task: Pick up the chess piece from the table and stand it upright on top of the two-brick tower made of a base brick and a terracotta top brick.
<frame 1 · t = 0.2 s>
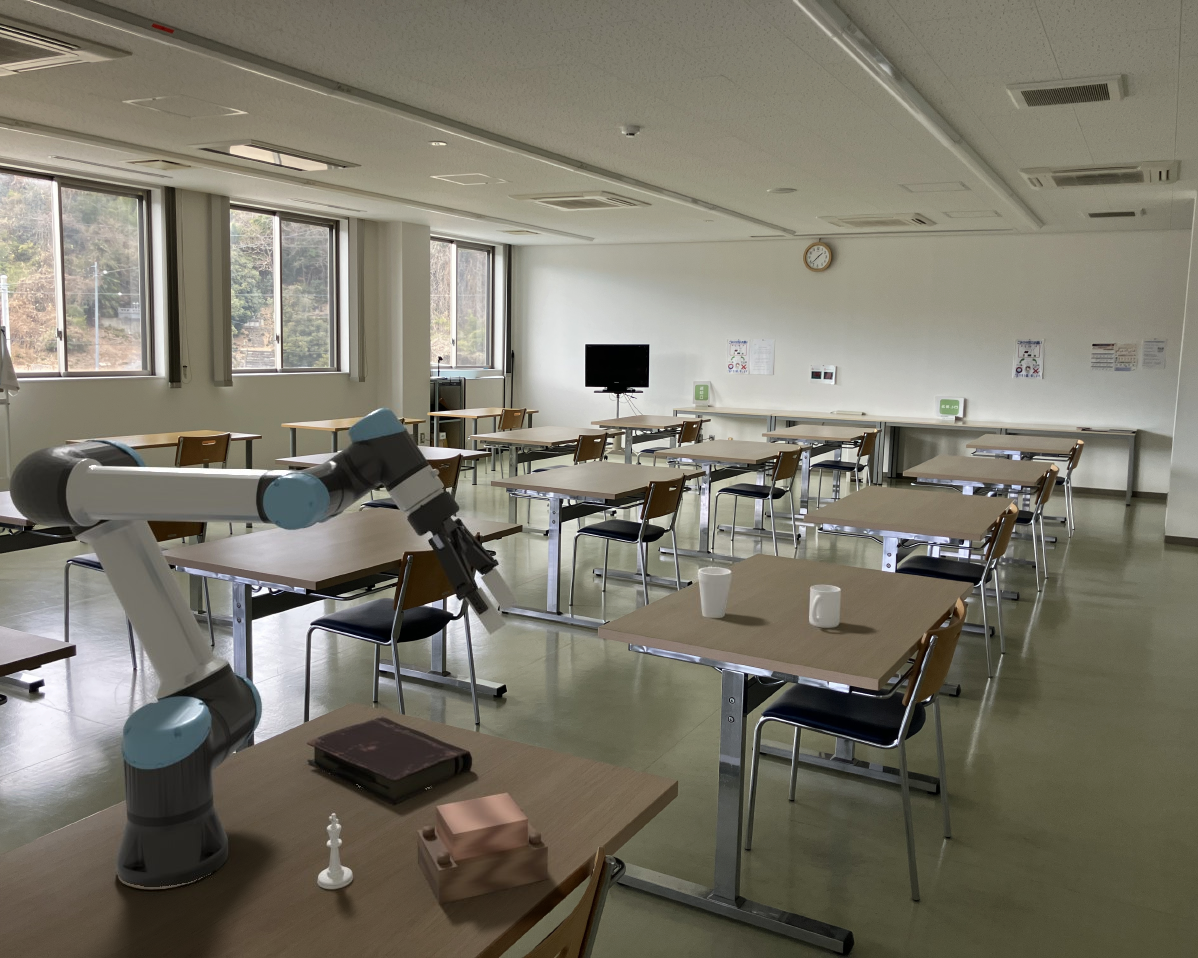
hand: (505, 617, 147), 35 cm above the table, tool tilted 35°, fingers open, 13 cm apart
diary: (387, 770, 175), on the table
mug: (821, 626, 268), on the table
chess piece: (335, 880, 138), on the table
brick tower: (481, 870, 141), on the table
foam cup: (713, 615, 277), on the table
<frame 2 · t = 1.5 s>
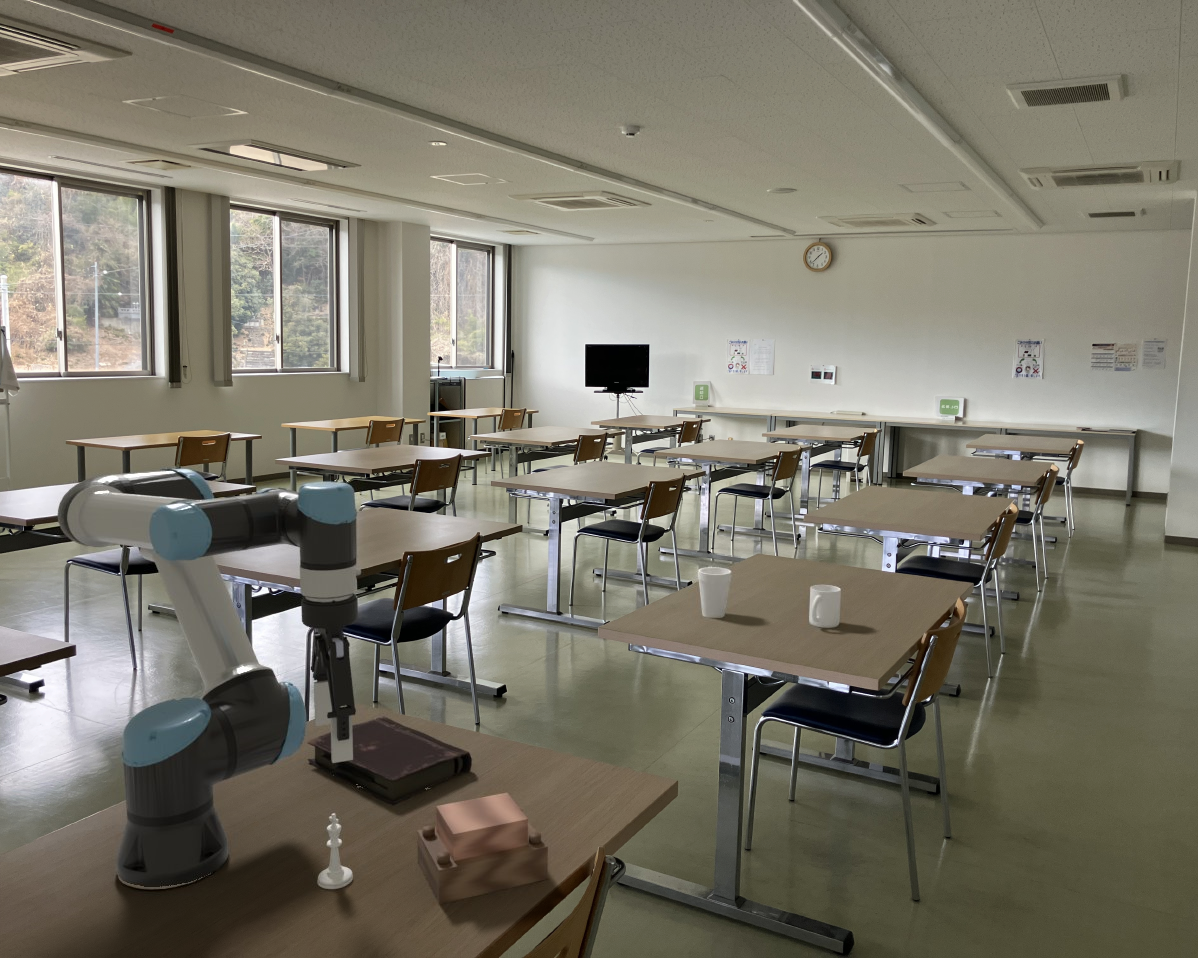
hand: (333, 741, 136), 21 cm above the table, tool pointing down, fingers open, 13 cm apart
nothing on the table moved.
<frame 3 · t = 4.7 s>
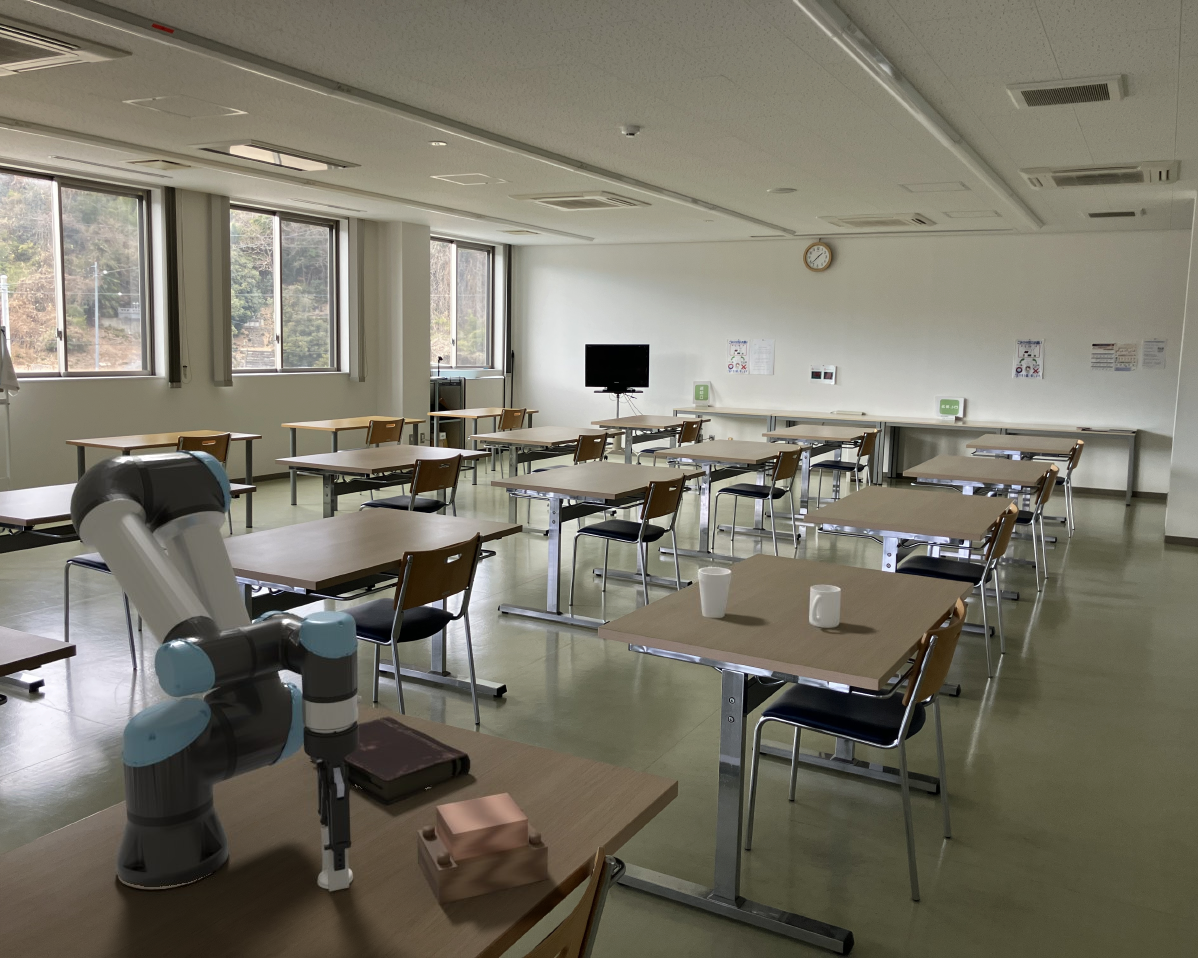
hand: (335, 877, 138), 0 cm above the table, tool pointing down, fingers closed on chess piece, 5 cm apart
chess piece: (335, 880, 138), on the table, touching gripper
everything else where it was.
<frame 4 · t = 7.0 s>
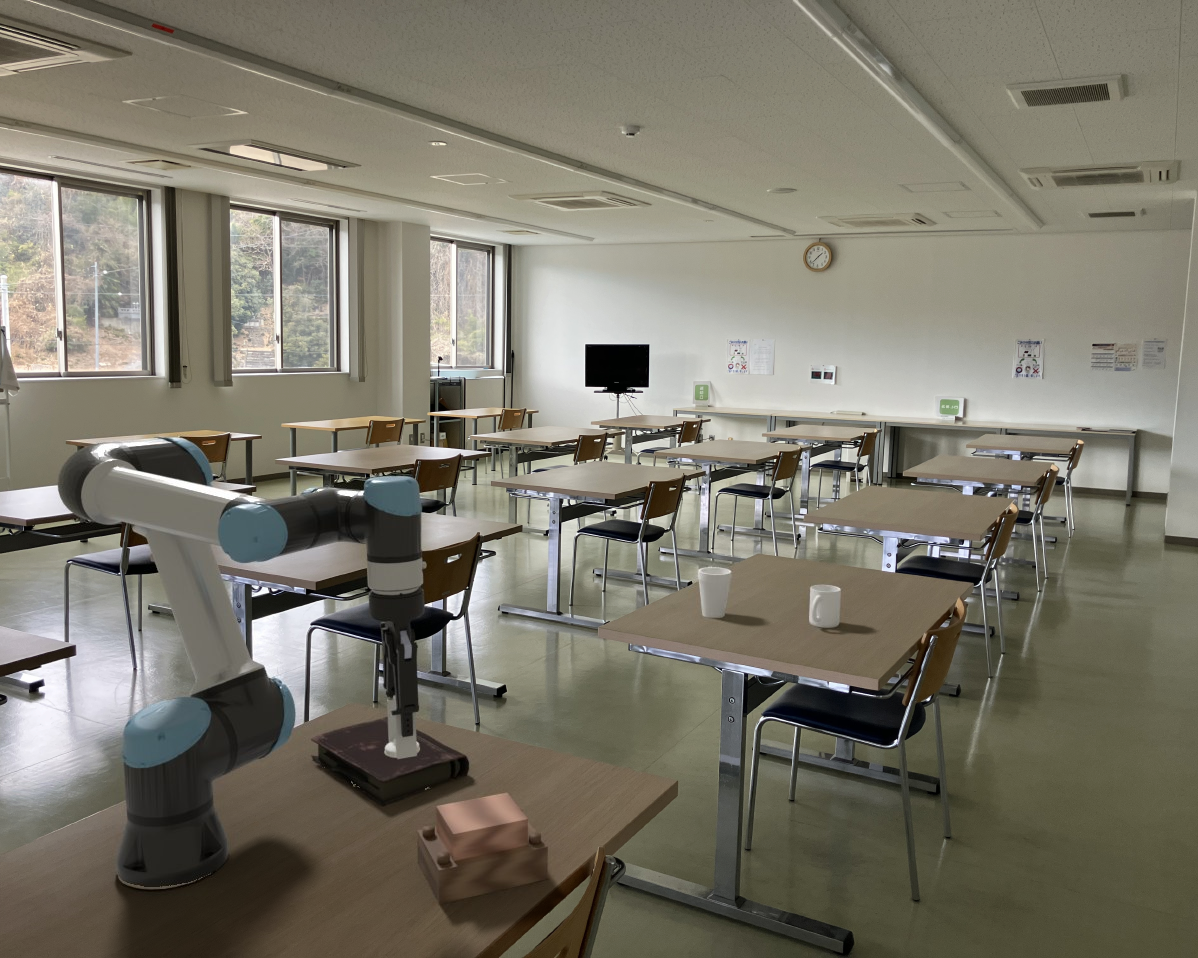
hand: (402, 748, 136), 20 cm above the table, tool pointing down, fingers closed on chess piece, 5 cm apart
chess piece: (402, 752, 136), point 19 cm above the table, touching gripper
everything else where it was.
when the fingers open (11 cm above the table, at t = 9.6 s): chess piece drops 1 cm, resting on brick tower.
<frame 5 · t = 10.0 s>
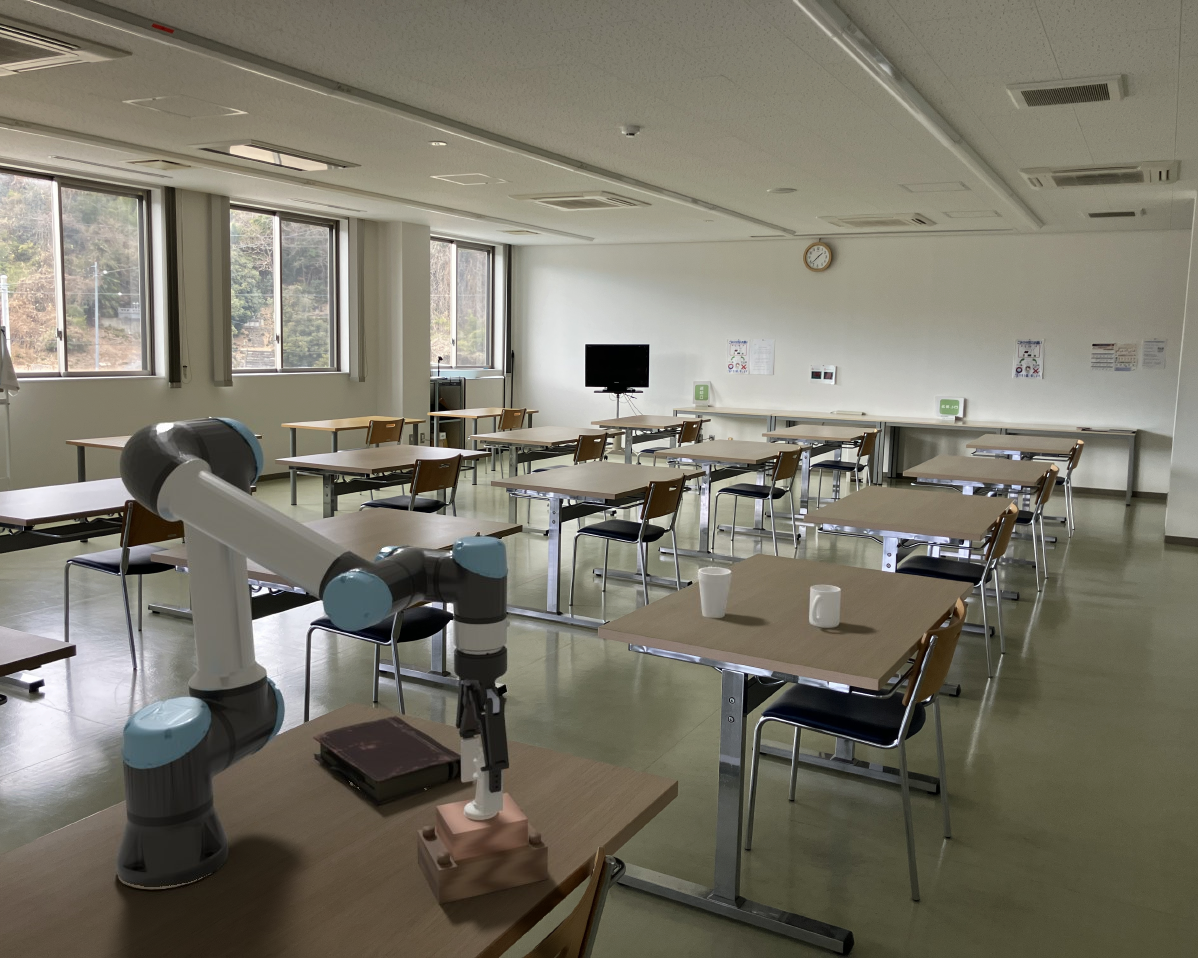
hand: (481, 794, 140), 12 cm above the table, tool pointing down, fingers open, 10 cm apart
chess piece: (480, 813, 140), point 9 cm above the table, touching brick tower
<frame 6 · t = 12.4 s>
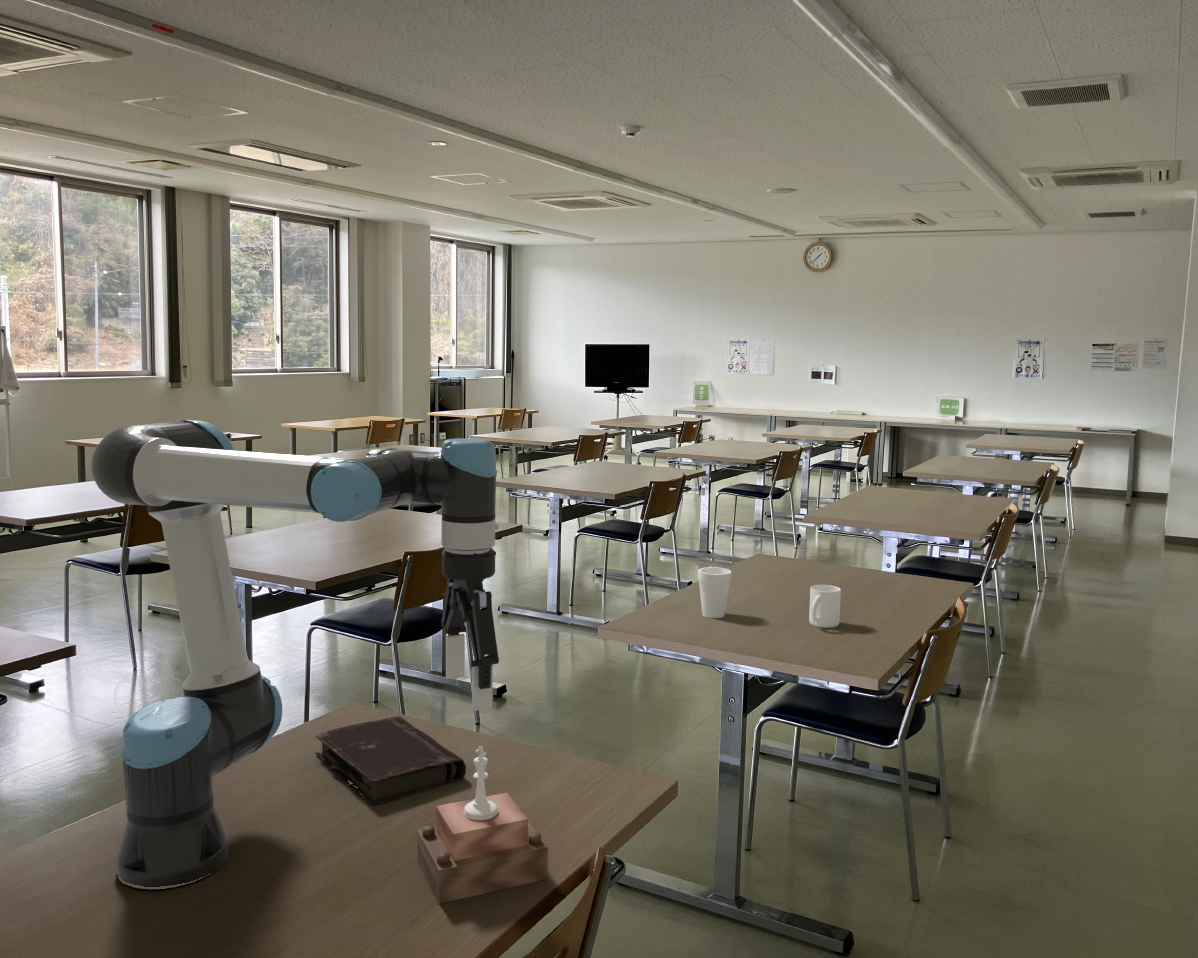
hand: (468, 692, 139), 27 cm above the table, tool pointing down, fingers open, 13 cm apart
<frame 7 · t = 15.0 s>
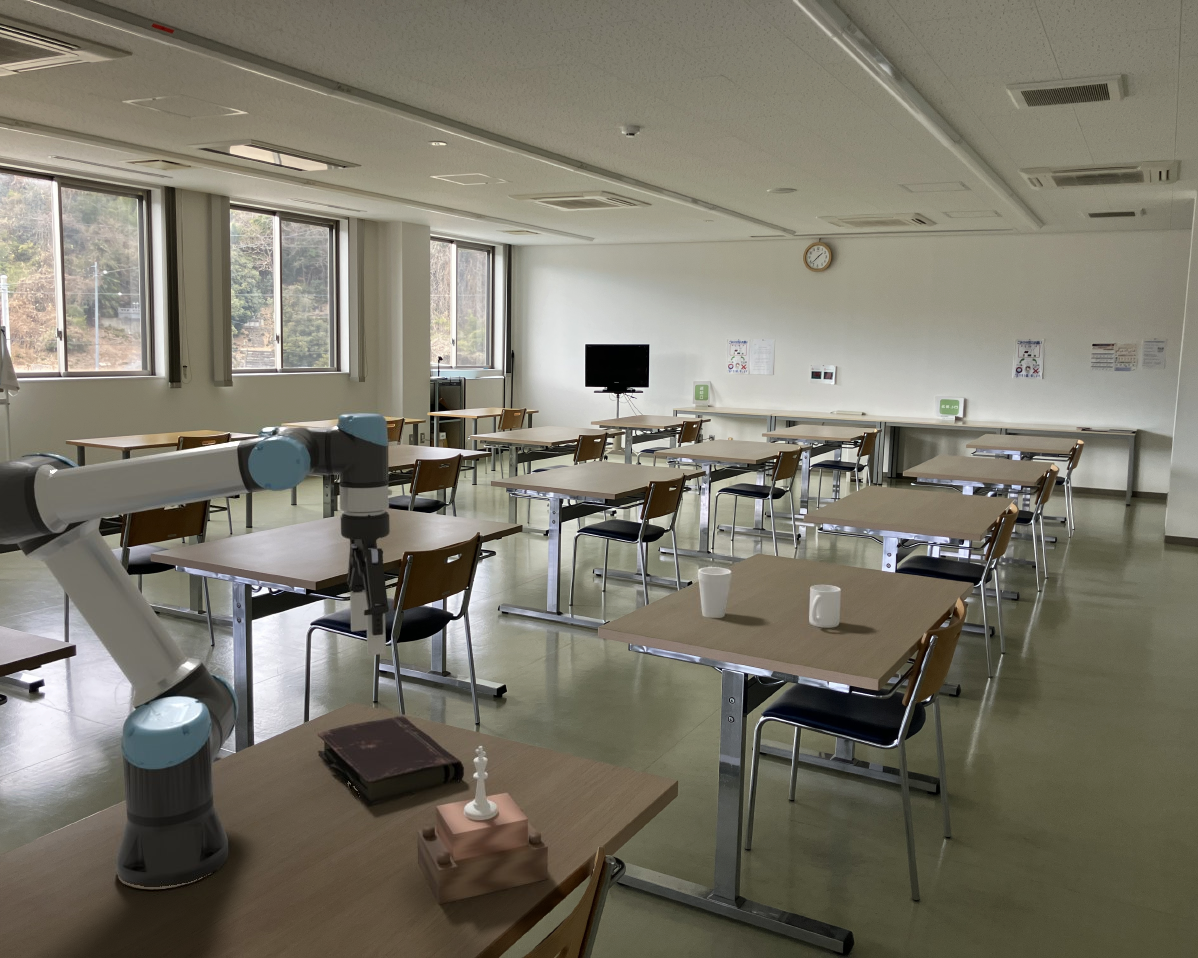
hand: (367, 641, 155), 29 cm above the table, tool pointing down, fingers open, 13 cm apart
at the end: chess piece inside the target area on the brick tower (0.1 cm from its centre), point 8.8 cm above the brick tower's base; chess piece tilted 0°; the gripper is holding nothing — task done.
